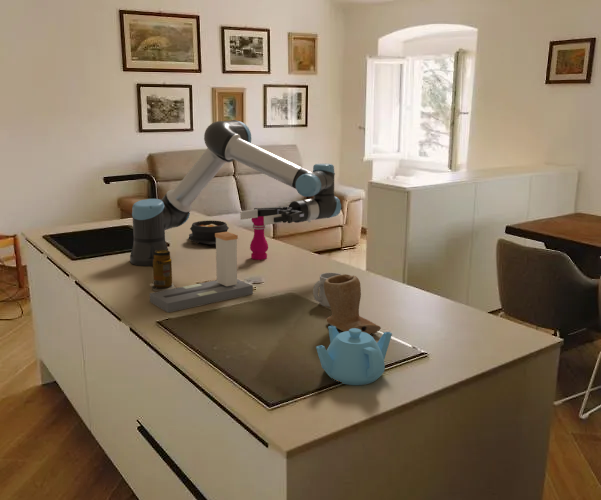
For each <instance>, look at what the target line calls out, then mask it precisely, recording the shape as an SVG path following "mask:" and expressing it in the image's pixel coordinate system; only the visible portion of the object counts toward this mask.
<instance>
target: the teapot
mask: <svg viewBox="0 0 601 500" xmlns="http://www.w3.org/2000/svg"><path fill="white" fill-rule="evenodd" d="M327 329H328V335H329V342H330V343H329V345H328V347H327V348H326V347H325V345H322V344H321V345H317V346H315V349H316V351H317V355H318V359H319V362H320V365H321V369H323V370H324V371H325V373H326V374H327V375H328V376H329V378H330V379H332V378H333V379H335V380H338V381H340V382H342V383H341V384H343V383H344V384H343V385H347V386H365V385H369V384H372V383H374V382H376V381H377V380H378V379H379V378H380V377H381V376H382V375H383V374H384V372H385V369H386V367H385V358H386V355H387V351H388V349H389V346H390V342H391V338H392V336H393V333H392V332H391V331H384V332H383V334H382V335H381V336H380V338H379V340H378V341H376V340H375V338H374V336H372V334H371V335H370V334H368V333H365V332H361V330H360V329H357V328H352V329H349V331H345V332H343V331H340V332H339V331H338V329H337V328H336V327H335V326H332V325H329V326H328V327H327ZM333 379H332V380H333ZM335 380H334V381H335Z"/></svg>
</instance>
